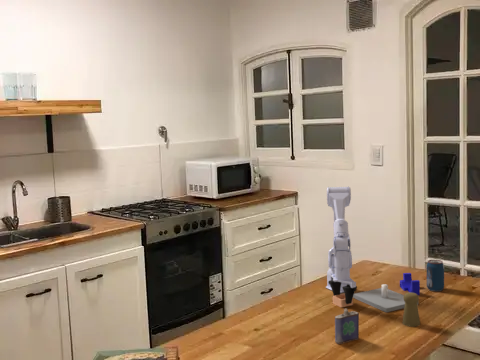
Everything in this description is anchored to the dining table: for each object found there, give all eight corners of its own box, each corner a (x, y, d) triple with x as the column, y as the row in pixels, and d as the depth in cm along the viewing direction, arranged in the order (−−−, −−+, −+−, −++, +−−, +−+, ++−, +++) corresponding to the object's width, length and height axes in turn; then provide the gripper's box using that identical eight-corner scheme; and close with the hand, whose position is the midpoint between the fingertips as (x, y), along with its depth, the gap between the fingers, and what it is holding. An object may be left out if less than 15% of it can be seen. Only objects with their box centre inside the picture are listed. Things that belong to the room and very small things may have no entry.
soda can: (445, 288, 233) (445, 260, 232) (442, 292, 227) (442, 264, 226) (428, 285, 237) (428, 258, 236) (424, 290, 231) (424, 262, 230)
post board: (352, 297, 226) (352, 282, 225) (383, 290, 233) (383, 275, 232) (386, 312, 208) (386, 295, 207) (418, 304, 215) (418, 288, 214)
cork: (411, 328, 192) (410, 297, 191) (398, 322, 198) (398, 292, 196) (423, 324, 195) (423, 294, 194) (411, 319, 200) (411, 289, 199)
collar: (332, 303, 220) (332, 296, 220) (344, 300, 222) (344, 293, 222) (341, 307, 215) (341, 300, 215) (353, 304, 217) (352, 297, 217)
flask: (338, 344, 181) (337, 313, 180) (332, 341, 183) (332, 310, 182) (360, 338, 185) (360, 307, 184) (355, 336, 188) (354, 305, 186)
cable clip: (399, 286, 238) (399, 273, 237) (410, 286, 238) (410, 272, 237) (408, 296, 226) (408, 281, 225) (419, 295, 226) (419, 281, 225)
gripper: (322, 264, 222) (323, 297, 223) (345, 273, 209) (345, 307, 210) (337, 261, 225) (338, 294, 226) (360, 270, 212) (360, 304, 213)
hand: (342, 300), depth 219 cm, fingers open, 7 cm apart
